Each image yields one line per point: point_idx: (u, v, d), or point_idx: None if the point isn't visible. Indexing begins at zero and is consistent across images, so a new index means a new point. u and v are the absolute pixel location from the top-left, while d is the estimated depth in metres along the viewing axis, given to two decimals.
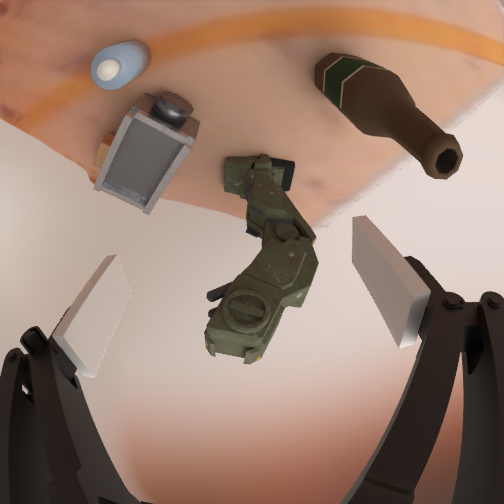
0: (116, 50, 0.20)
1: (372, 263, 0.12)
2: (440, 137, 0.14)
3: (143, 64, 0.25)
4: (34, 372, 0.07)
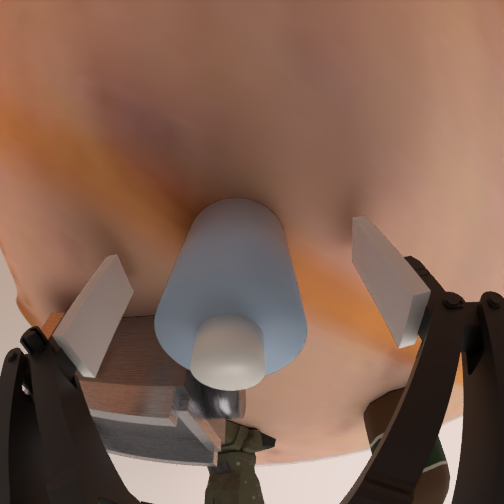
0: (288, 320, 0.09)
1: (372, 263, 0.12)
2: None
3: None
4: (34, 372, 0.07)
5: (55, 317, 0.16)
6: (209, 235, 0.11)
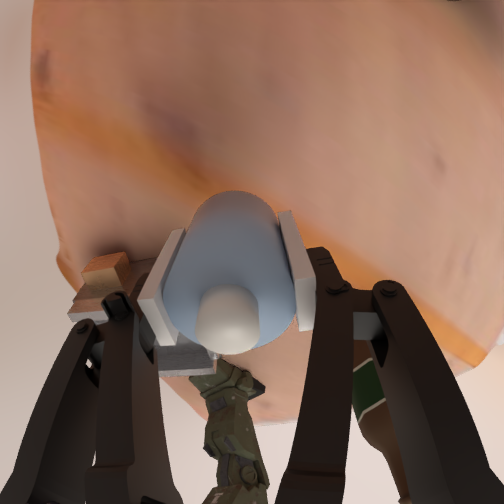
0: (279, 290, 0.11)
1: None
2: None
3: None
4: (109, 340, 0.09)
5: (97, 258, 0.25)
6: (211, 220, 0.12)
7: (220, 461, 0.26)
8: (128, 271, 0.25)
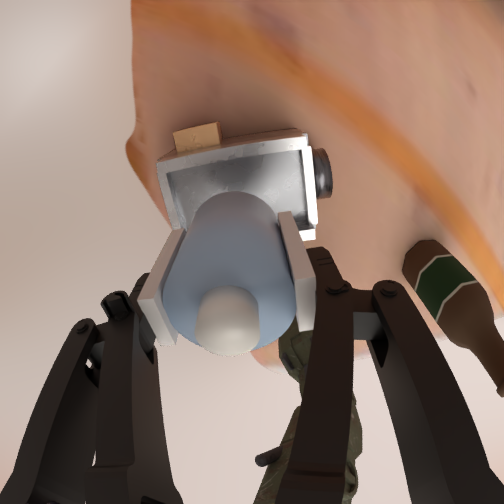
0: (279, 291, 0.11)
1: None
2: None
3: None
4: (109, 340, 0.09)
5: (186, 128, 0.25)
6: (211, 220, 0.12)
7: (301, 373, 0.26)
8: (221, 139, 0.25)
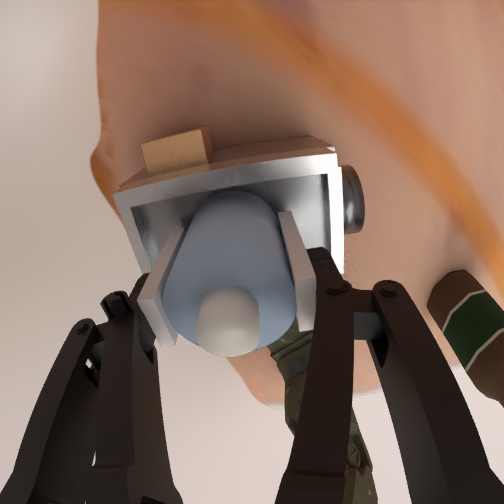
0: (280, 292, 0.11)
1: None
2: None
3: None
4: (108, 340, 0.09)
5: (163, 137, 0.18)
6: (211, 221, 0.12)
7: None
8: (210, 151, 0.18)
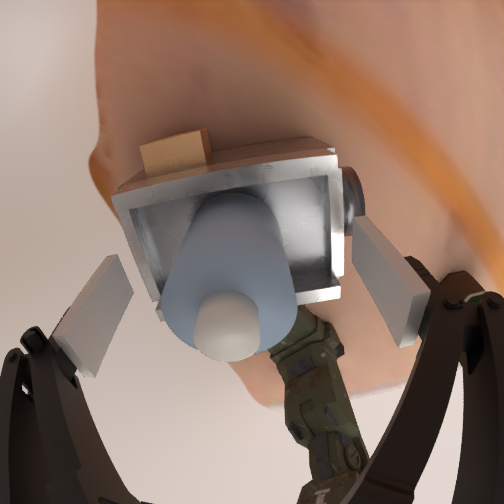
0: (279, 296, 0.10)
1: (372, 263, 0.12)
2: None
3: None
4: (34, 372, 0.07)
5: (161, 138, 0.18)
6: (210, 224, 0.12)
7: (312, 445, 0.19)
8: (210, 153, 0.18)
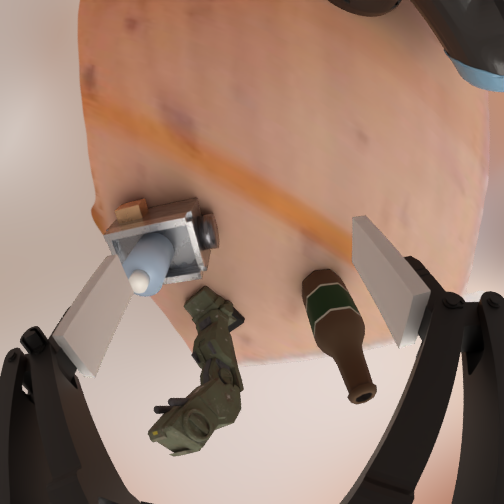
0: (154, 271, 0.31)
1: (372, 263, 0.12)
2: (369, 385, 0.27)
3: None
4: (34, 372, 0.07)
5: (125, 204, 0.38)
6: (137, 247, 0.32)
7: (204, 366, 0.39)
8: (146, 211, 0.38)
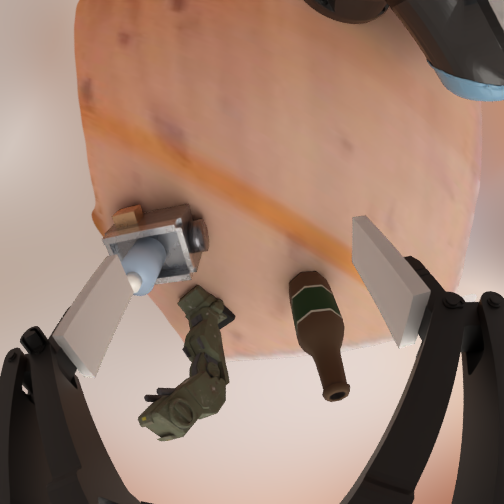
0: (146, 274, 0.34)
1: (372, 263, 0.12)
2: (342, 385, 0.30)
3: None
4: (34, 372, 0.07)
5: (122, 209, 0.41)
6: (131, 251, 0.35)
7: (194, 360, 0.42)
8: (141, 216, 0.41)
